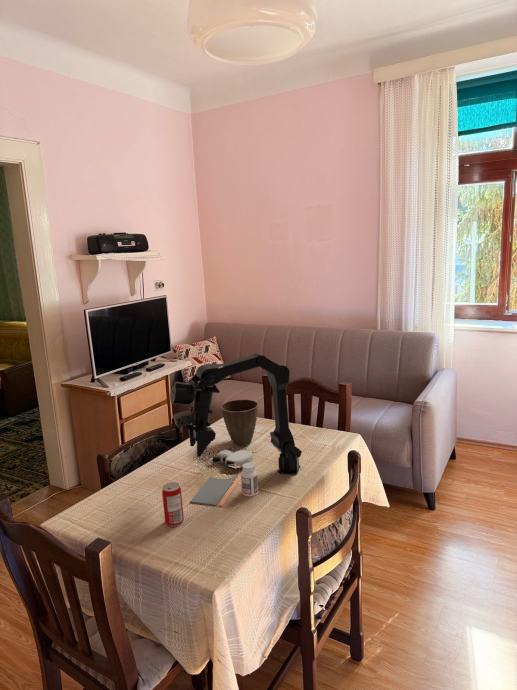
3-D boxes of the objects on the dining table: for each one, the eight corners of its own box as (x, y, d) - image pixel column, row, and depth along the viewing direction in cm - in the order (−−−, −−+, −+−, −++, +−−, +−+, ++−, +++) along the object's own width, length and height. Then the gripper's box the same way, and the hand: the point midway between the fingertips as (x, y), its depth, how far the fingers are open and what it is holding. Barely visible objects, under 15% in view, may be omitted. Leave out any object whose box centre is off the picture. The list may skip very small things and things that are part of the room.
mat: (237, 476, 173) (237, 474, 173) (216, 506, 154) (216, 504, 154) (213, 473, 175) (213, 472, 175) (190, 502, 157) (190, 501, 157)
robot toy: (207, 467, 182) (238, 475, 173) (205, 456, 182) (236, 463, 172) (228, 455, 192) (259, 461, 183) (227, 444, 191) (257, 450, 182)
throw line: (243, 476, 172) (243, 475, 172) (222, 506, 153) (222, 505, 153) (239, 476, 172) (239, 474, 172) (219, 506, 154) (218, 504, 154)
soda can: (173, 515, 150) (170, 479, 148) (187, 519, 147) (184, 483, 145) (161, 524, 146) (157, 487, 143) (175, 529, 143) (172, 491, 140)
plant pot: (216, 445, 199) (213, 408, 195) (237, 432, 211) (234, 397, 208) (247, 452, 191) (244, 413, 188) (266, 438, 203) (264, 402, 200)
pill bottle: (254, 487, 164) (252, 460, 162) (261, 494, 160) (259, 466, 158) (239, 491, 162) (237, 464, 160) (246, 498, 157) (244, 470, 155)
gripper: (171, 395, 162) (165, 440, 164) (183, 412, 145) (176, 462, 147) (204, 397, 167) (197, 441, 168) (219, 414, 149) (211, 462, 151)
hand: (195, 451), depth 159 cm, fingers open, 9 cm apart
